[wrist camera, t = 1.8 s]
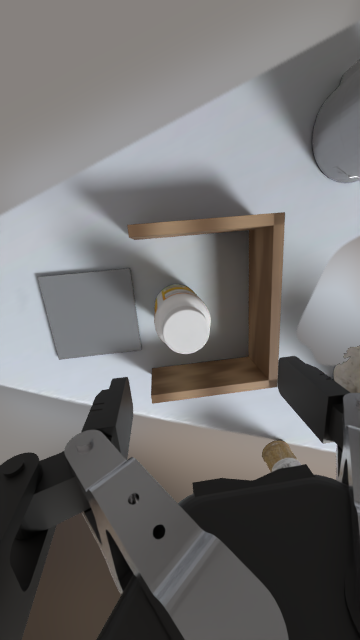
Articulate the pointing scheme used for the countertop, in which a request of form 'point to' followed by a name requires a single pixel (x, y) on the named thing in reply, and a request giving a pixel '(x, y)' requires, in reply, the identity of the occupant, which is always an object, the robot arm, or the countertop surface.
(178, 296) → the supplement bottle
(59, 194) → the countertop surface
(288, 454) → the sprinkles bottle
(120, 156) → the countertop surface
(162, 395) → the open box
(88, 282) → the grey mat
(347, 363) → the yellow capped ghost figurine
